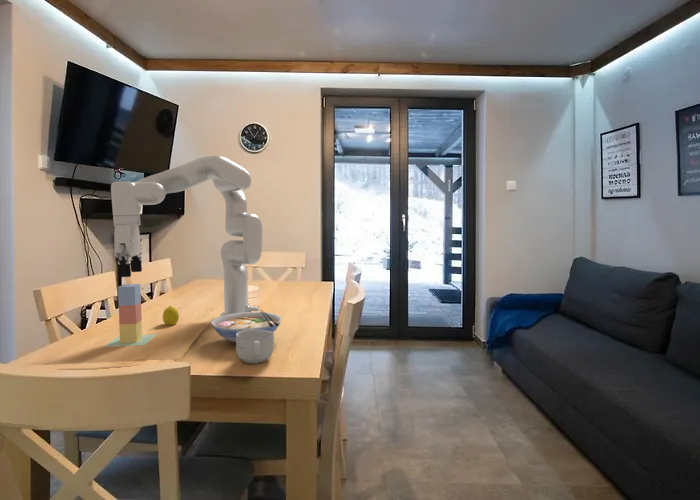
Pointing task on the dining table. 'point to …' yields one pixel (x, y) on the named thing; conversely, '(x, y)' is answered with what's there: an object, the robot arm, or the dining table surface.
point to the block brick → (130, 314)
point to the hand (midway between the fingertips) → (131, 274)
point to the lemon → (170, 316)
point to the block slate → (129, 294)
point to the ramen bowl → (245, 323)
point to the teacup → (254, 345)
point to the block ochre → (130, 332)
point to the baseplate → (142, 341)
